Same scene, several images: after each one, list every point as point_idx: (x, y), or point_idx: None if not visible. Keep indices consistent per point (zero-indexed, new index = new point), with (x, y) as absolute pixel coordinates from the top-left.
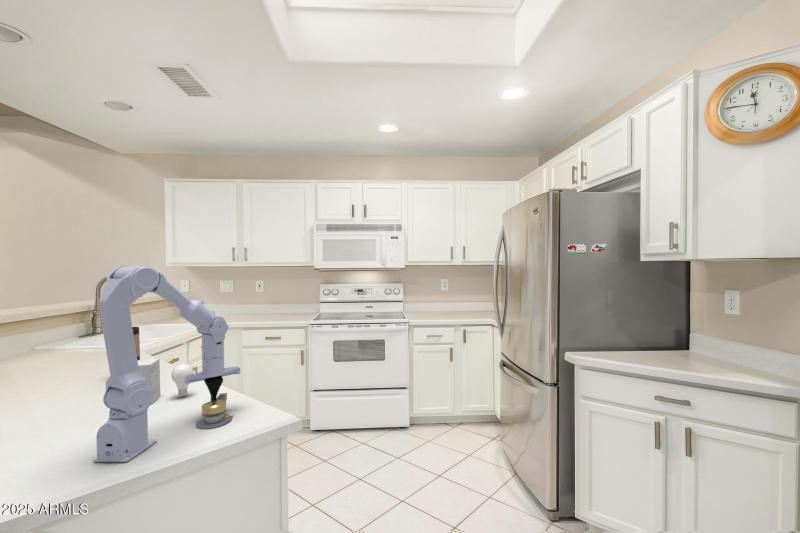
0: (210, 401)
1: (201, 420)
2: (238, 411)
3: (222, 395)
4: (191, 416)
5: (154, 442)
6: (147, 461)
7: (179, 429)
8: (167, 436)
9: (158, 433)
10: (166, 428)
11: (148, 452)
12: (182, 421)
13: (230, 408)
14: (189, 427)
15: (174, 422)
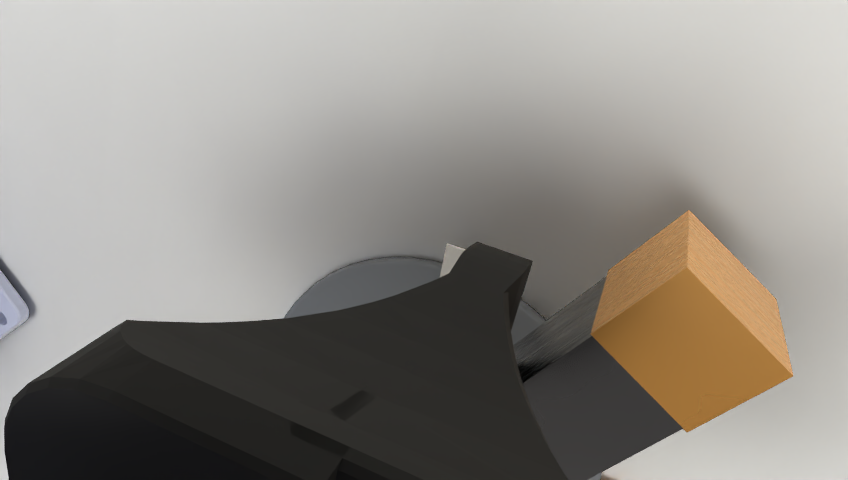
0: None
1: (339, 308)
2: (758, 448)
3: (630, 402)
4: (333, 34)
5: (13, 328)
6: (4, 470)
7: (172, 258)
8: (91, 292)
9: (44, 169)
10: (96, 125)
11: (2, 389)
12: (226, 94)
13: (791, 267)
14: (238, 302)
15: (165, 38)
